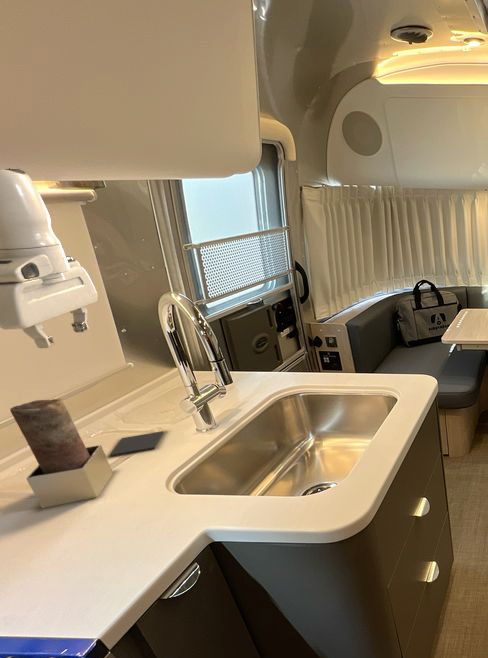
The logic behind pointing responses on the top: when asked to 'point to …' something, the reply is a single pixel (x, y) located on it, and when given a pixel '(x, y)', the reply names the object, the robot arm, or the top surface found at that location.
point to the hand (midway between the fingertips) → (65, 338)
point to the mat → (137, 443)
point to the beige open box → (72, 481)
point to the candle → (51, 435)
